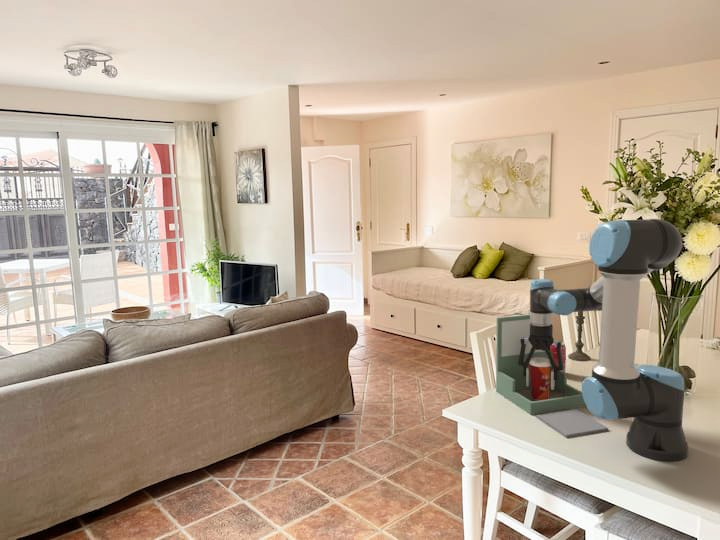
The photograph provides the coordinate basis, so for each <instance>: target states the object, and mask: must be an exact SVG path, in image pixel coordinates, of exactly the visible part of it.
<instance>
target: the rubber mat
mask: <svg viewBox="0 0 720 540" xmlns="http://www.w3.org/2000/svg"><path fill="white" fill-rule="evenodd" d="M535 418H536V419H538V420H539V421H540V422H542V423H544V424H545V425H546V426H548V427H549V428H551V429H552V430H554V431H555V432H557V433H559V434H560V435H562V437H565V438H571V437H578V436H583V435H589V434H595V433H601V432H606V431H609V427H608V426H606V425H604V424H603V423H601V422H600V421H597V420H595V419H594V418H592V417H591V416H588V415H587V414H585V413H583V412H582V411H580V410H578V409H576V408H572V409H566V410H559V411H553V412H547V413H540V414H535Z"/></svg>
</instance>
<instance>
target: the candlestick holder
mask: <svg viewBox="0 0 720 540" xmlns="http://www.w3.org/2000/svg"><path fill="white" fill-rule="evenodd" d="M575 319H576V322H575V323H576V324H577V325H578V326H577V329H576V330H577V341H576V342H575V347H576V351H574V352H572V353H570V354H568V355H567V357H568V359H570V360H572V361H576V362H577V361H578V362H588V361H590V360H591V356H590V355H588V354H587V353H585V352H584V351H583V350H582V349H583V348H584V346H585V343H583V341H582V335H583V334H582V333H583V325H584V324H585V321H584V320H585V319H586V316H584V311H580V312H577V315H576V316H575Z"/></svg>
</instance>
